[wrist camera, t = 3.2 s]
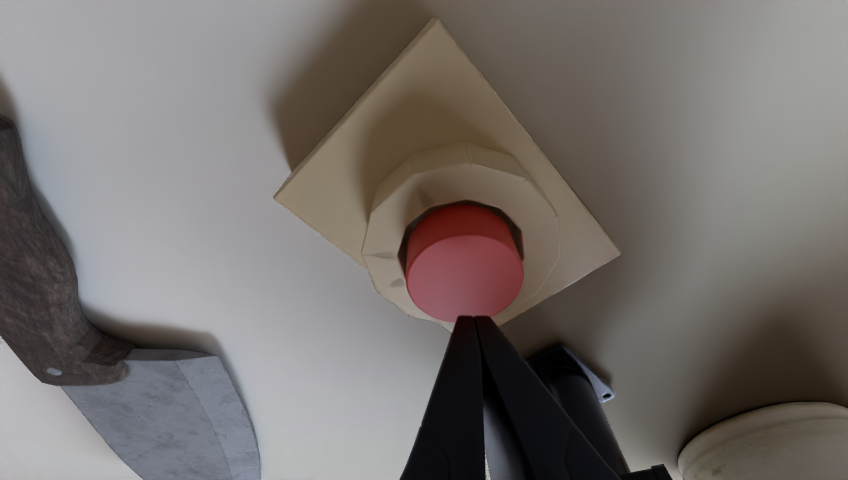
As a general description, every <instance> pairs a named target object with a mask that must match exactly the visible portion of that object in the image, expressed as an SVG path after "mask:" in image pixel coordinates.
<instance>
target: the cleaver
mask: <svg viewBox="0 0 848 480" xmlns="http://www.w3.org/2000/svg"><path fill="white" fill-rule="evenodd" d="M0 336H1V337H2V338H3V339H4V341H5V342H6V343H7V344H8V346H9V347H10V348H11V349H12V350H13V352H14V353H15V354H16V355H17V356H18V358H19V359H20V360H21V361H22V362H23V363H24V365H25V366H26V367H27V368H28V369H29V370H30V371H31V372H32V374H33V375H34V376H35V377H37V378H38V379H39V380H40V381H41V382H42V383H46V384H50V385H55V386H60V387H61V388H62V389H63V390H64V392H65V393H66V394H67V395H68V397H69V398H70V399H71V400H72V401H73V403H74V404H75V405H76V406H77V408H78V409H79V410H80V411H81V412H82V414H83V415H84V416H85V417H86V419H87V420H88V421H89V422H90V423H91V425H92V426H93V427H94V428H95V430H96V431H97V432H98V433H99V434H100V436H101V437H102V438H103V439H104V440H105V442H106V443H107V444H108V445H109V446H110V448H111V449H112V450H113V451H114V452H115V453H116V454H117V455H118V456H119V457H120V459H121V460H122V461H124V462H125V463H126V464H127V465H128V466H129V467H130V468H131V469H132V470H133V471H134V472H135V473H136V474H138V475H139V476H140V477H141V478H142V479H143V480H261V467H260V456H259V451H258V445H257V441H256V438H255V434H254V431H253V428H252V425H251V422H250V419H249V417H248V414H247V412H246V409H245V407H244V405H243V403H242V400H241V398H240V396H239V394H238V392H237V390H236V388H235V386H234V385H233V383H232V381H231V379H230V377H229V375H228V373H227V372H226V370H225V368H224V366H223V365H222V363H221V361H220V359H219V358H218V356H217V355H213V354H207V353H201V352H195V351H188V350H182V349H137V348H136V347H135V346H134V345H133V344H131V343H128V342H125V341H122V340H118V339H114V338H110V337H106V336H104V335H103V334H102V333H101V332H99V331H98V330H97V329H96V328H94V327H93V326H92V325H91V324H90V323H89V322H88V320H87V319H86V317H85V316H84V314H83V313H82V311H81V308H80V305H79V301H78V281H77V276H76V271H75V267H74V264H73V261H72V259H71V257H70V255H69V253H68V252H67V250H66V248H65V246H64V244H63V243H62V241H61V240H60V239H59V237H58V236H57V234H56V233H55V231H54V230H53V228H52V227H51V226H50V224H49V223H48V221H47V220H46V218H45V217H44V215H43V214H42V212H41V211H40V209H39V206H38V204H37V202H36V200H35V198H34V196H33V194H32V192H31V189H30V185H29V181H28V176H27V172H26V167H25V163H24V157H23V151H22V146H21V140H20V137H19V135H18V132H17V130H16V127H15V125H14V123H13V122H12V121H10V120H9V119H8V118H6V117H5V116H3V115H0Z"/></svg>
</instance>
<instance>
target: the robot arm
mask: <svg viewBox="0 0 848 480" xmlns="http://www.w3.org/2000/svg"><path fill="white" fill-rule="evenodd" d="M614 396H615V393H614V391H613V389H612V387H611V386H610V385H609V384H608V383H607V382H606V381H604V380H603V379H602V378H601V377H600V376H599V375H598V374H597V373H596V372H595V371H594V370H593V369H591V368H590V367H589V366H588V365H587V364H586V363H585V362H584V361H583V360H582V359H581V358H579V357H578V356H577V355H576V354H575V353H574V352H573V351H572V350H571V349H570V348H569V347H568V346H566V345H565V344H563V343H556V344H553V345H551V346H549V347H547V348H546V349H544V350H542V351H540V352H538V353H536V354H534V355H532V356H531V357H529V358H527V359H525V360H524V359H523V358H522V356H521V355H520V354H519V353H518V351H517V350H516V349H515V347H514V346H513V345H512V344H511V342H510V341H509V340H508V339H507V337H506V336H505V335H504V333H503V332H502V331H501V330H500V328H499V327H498V326H497V325H496V323H495V322H494V321H493V319H492V318H491V317H490V316H488V315H476V316H474V317H473V316H472V315H459V316H458V317H457V319H456V322H455V325H454V328H453V331H452V334H451V337H450V340H449V343H448V346H447V349H446V352H445V355H444V358H443V361H442V364H441V367H440V370H439V372H438V375H437V378H436V381H435V384H434V387H433V390H432V393H431V396H430V399H429V402H428V405H427V408H426V411H425V414H424V417H423V420H422V423H421V426H420V428H419V431H418V434H417V437H416V440H415V443H414V446H413V448H412V451H411V454H410V456H409V459H408V461H407V464H406V466H405V469H404V471H403V473H402V475H401V477H400V480H486V475H485V453H486V458H487V463H488V468H489V473H490V478H491V480H672V478H671V476H670V474H669V473H668V471H667V469H666V468H665V466H664V464H660V465H655V466H651V469H647V470H642V471H637V472H630V470H629V467H628V465H627V463H626V461H625V458H624V456H623V454H622V451H621V449H620V447H619V445H618V442H617V440H616V438H615V436H614V433H613V431H612V429H611V427H610V424H609V422H608V420H607V418H606V415H605V413H604V411H603V409H602V406H601V404H600V403H603V402H605V401H607V400H610V399H612V398H613V397H614Z"/></svg>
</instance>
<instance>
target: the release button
mask: <svg viewBox="0 0 848 480" xmlns="http://www.w3.org/2000/svg"><path fill="white" fill-rule="evenodd" d="M523 277H524V270H523V265H522V262H521V259H520V257H519V254H518V251H517V249H516V246H515V243H514V241H513V238H512V236H511V233H510V230H509V228H508V227H507V225H506V224H505V222H504V221H503V220H502V219H501V218H500V217H499V216H498V215H496V214H495V213H493V212H491V211H489V210H487V209H485V208H482V207H479V206H475V205H467V204H459V205H451V206H447V207H443V208H440V209H438V210H436V211H434V212H432V213H430V214H429V215H427V216H426V217H425V218H423V219H422V220H421V221H420V222H419V223H418V224H417V226H416V227H415V228H414V230H413V232H412V233H411V236H410V238H409V242H408V249H407V265H406V287H407V291H408V293H409V296H410V298H411V299H412V301H413V302H414V303H415V305H416V306H417V307H418V308H419V309H421V310H422V311H423V312H424V313H426V314H427V315H429V316H431V317H433V318H436V319H439V320H442V321H446V322H452V323H455V322H456V319H457V317H458V316H459V315H472V316H473V317H474V316H476V315H488V316H490V317H492V316H494V315H496V314H498V313H499V312H501V311H502V310H504V309H505V308H506V307H508V306H509V305H510V304H511V303H512V302H513V300H514V299H515V298H516V296H517V295H518V293H519V291H520V289H521V286H522V283H523Z"/></svg>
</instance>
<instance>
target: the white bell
mask: <svg viewBox="0 0 848 480" xmlns="http://www.w3.org/2000/svg"><path fill="white" fill-rule="evenodd" d="M678 467H679V471H680V473H681V475H682V477H683V480H848V409H847V408H845V407H843V406H840V405H837V404H833V403H828V402H795V403H784V404H778V405H774V406H769V407H764V408H760V409H756V410H753V411H750V412H747V413H744V414H741V415H738V416H735V417H732V418H729V419H726V420H724V421H722V422H719V423H717V424H715V425H713V426H711V427H709V428H708V429H706V430H705V431H703V432H702V433H700V434H699V435H697V436H696V437H695V438H694V439H693V440H691V441H690V442H689V443H688V444H687V446H686V447H685V448H684V449H683V451H682V452H681V454H680V456H679V459H678Z"/></svg>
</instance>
